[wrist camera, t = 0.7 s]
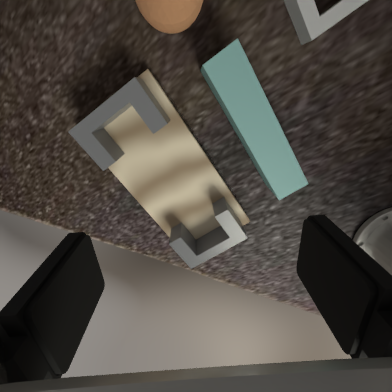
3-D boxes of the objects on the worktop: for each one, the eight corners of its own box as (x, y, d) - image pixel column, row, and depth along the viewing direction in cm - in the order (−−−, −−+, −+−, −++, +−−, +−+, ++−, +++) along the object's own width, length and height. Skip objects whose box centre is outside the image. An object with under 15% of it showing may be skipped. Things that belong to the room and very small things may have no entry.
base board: (247, 216, 36) (250, 221, 35) (187, 251, 39) (186, 256, 37) (149, 70, 27) (147, 68, 26) (79, 127, 30) (74, 129, 28)
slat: (289, 169, 33) (308, 183, 28) (264, 183, 34) (279, 200, 29) (228, 49, 27) (237, 38, 21) (200, 70, 28) (202, 65, 22)
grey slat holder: (241, 223, 35) (247, 238, 31) (191, 251, 37) (191, 268, 33) (142, 79, 26) (134, 76, 23) (83, 127, 28) (68, 131, 25)
